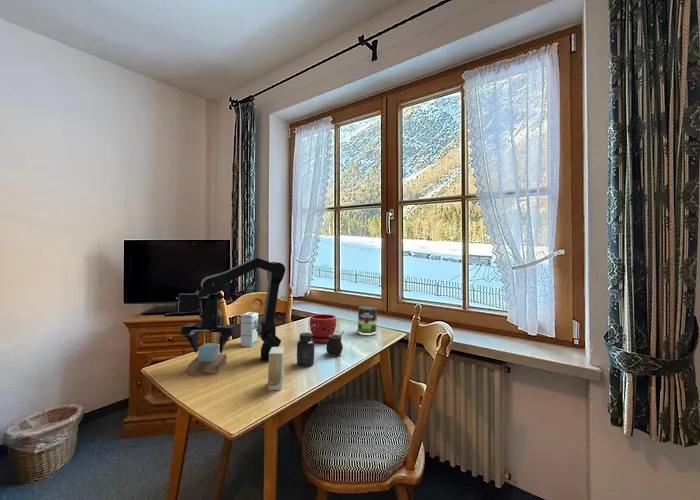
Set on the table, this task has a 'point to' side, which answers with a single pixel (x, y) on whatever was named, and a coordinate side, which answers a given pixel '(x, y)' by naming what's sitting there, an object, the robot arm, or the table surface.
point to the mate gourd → (334, 345)
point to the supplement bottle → (305, 350)
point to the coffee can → (367, 319)
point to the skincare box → (276, 368)
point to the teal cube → (208, 352)
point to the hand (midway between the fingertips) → (208, 352)
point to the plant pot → (322, 327)
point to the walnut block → (207, 366)
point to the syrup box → (249, 329)
